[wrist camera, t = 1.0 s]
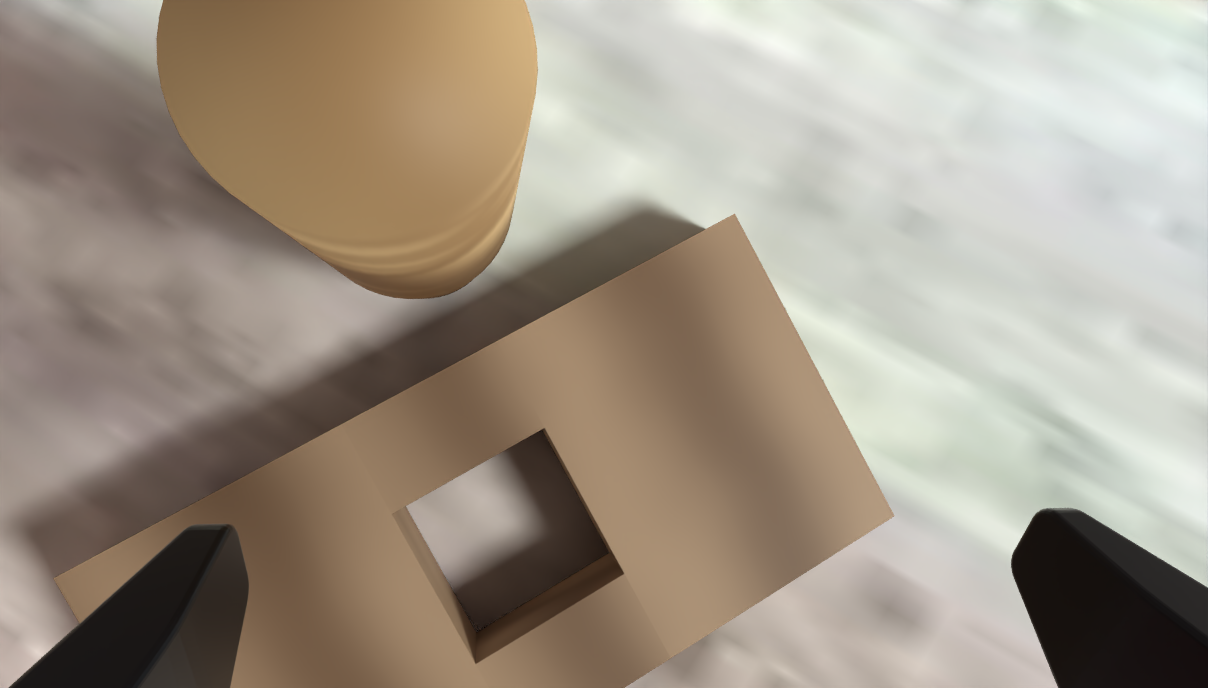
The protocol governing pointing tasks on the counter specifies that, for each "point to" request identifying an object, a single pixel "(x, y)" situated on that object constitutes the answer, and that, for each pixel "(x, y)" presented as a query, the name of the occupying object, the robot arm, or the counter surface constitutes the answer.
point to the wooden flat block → (594, 467)
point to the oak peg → (361, 125)
